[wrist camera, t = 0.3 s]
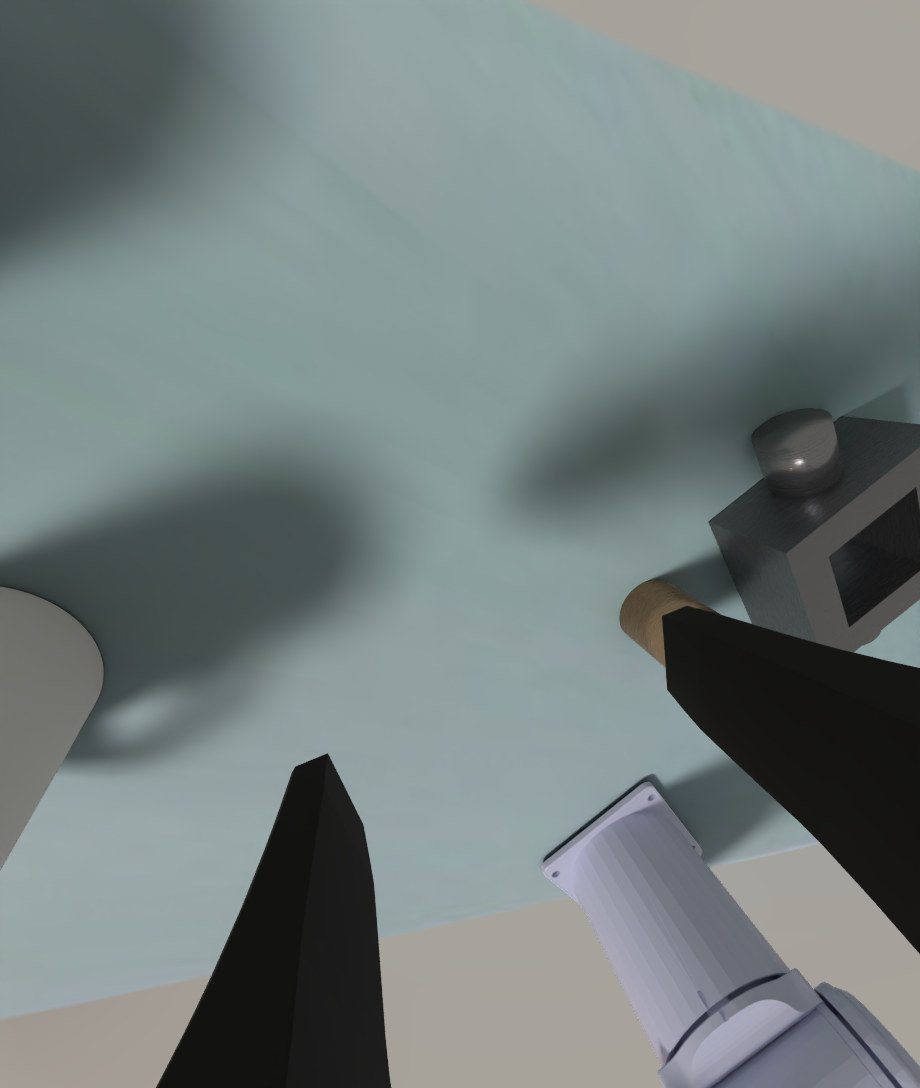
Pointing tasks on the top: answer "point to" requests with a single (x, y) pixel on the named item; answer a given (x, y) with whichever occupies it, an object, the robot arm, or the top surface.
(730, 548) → the valve body
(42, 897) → the top surface
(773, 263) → the top surface
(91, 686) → the mug
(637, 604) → the tapered valve plug
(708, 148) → the top surface
